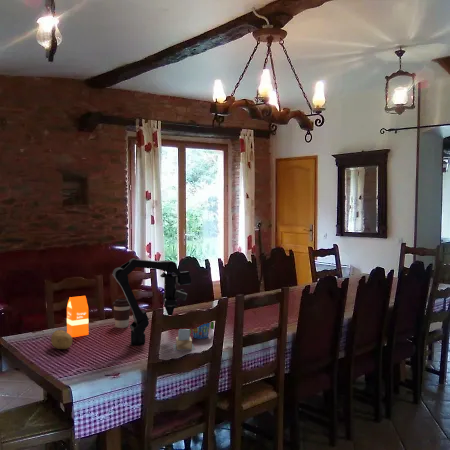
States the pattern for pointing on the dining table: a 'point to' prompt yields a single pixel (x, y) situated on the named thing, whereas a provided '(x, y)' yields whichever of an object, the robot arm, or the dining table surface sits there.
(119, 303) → the coffee cup
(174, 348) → the build mat
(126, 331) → the dining table surface
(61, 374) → the dining table surface
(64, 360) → the dining table surface
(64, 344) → the potato
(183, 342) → the oak block
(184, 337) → the blue cube
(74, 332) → the orange juice
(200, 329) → the snack cup
